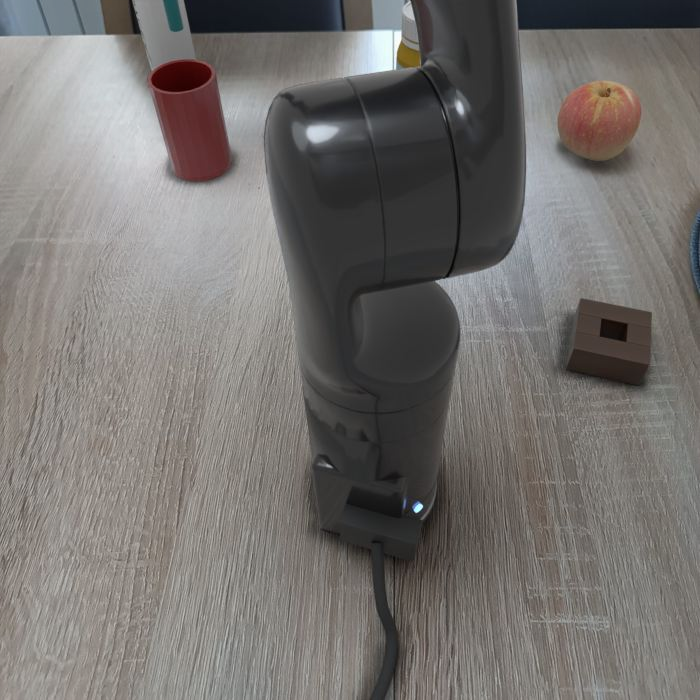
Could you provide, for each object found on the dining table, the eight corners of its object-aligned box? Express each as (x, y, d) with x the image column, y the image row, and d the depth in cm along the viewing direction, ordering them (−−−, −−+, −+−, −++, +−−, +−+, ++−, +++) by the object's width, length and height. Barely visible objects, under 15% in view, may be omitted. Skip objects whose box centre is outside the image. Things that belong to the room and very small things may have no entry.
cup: (216, 186, 76) (196, 98, 67) (161, 175, 77) (135, 88, 69) (241, 151, 80) (226, 64, 72) (188, 141, 82) (167, 55, 73)
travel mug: (205, 67, 93) (172, -95, 78) (193, 92, 89) (156, -75, 73) (162, 66, 94) (121, -96, 78) (148, 90, 90) (102, -76, 74)
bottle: (384, 141, 81) (387, 17, 69) (408, 113, 84) (414, -9, 73) (437, 156, 78) (448, 30, 67) (459, 126, 82) (473, 2, 71)
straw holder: (638, 385, 57) (650, 364, 54) (565, 369, 58) (573, 348, 56) (641, 333, 60) (652, 311, 58) (572, 319, 62) (580, 297, 59)
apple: (611, 182, 75) (633, 118, 68) (539, 156, 78) (553, 94, 72) (638, 144, 79) (661, 82, 73) (568, 122, 82) (584, 60, 76)
